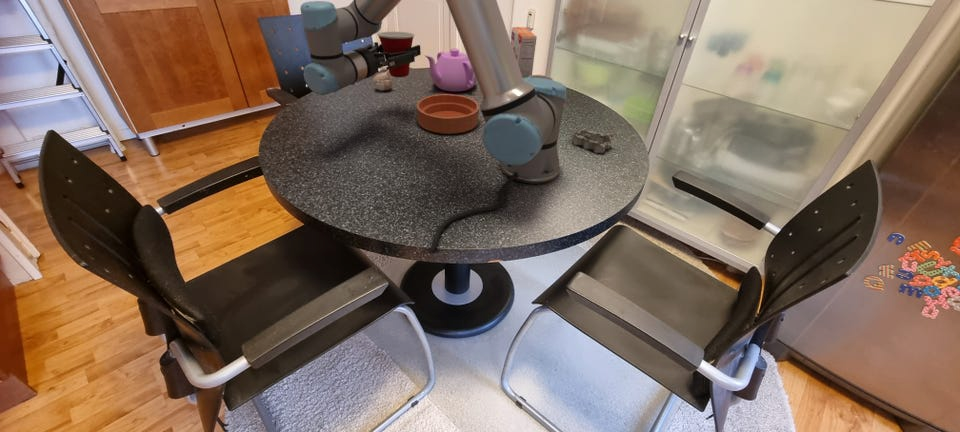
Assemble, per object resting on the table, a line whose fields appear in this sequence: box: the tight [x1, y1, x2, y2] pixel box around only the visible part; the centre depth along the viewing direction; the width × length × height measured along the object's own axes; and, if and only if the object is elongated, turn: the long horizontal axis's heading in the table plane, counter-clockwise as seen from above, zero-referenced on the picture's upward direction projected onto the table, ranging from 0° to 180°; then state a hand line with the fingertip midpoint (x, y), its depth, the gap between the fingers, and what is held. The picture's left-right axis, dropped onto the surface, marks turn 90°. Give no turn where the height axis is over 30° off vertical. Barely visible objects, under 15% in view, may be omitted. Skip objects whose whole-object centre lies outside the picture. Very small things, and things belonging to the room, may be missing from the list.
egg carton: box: [571, 128, 615, 154], centre depth 109 cm, size 11×8×4 cm
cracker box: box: [510, 26, 538, 78], centre depth 140 cm, size 14×6×21 cm, turn 10°
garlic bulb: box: [372, 68, 393, 92], centre depth 136 cm, size 7×6×8 cm
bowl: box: [416, 93, 480, 135], centre depth 117 cm, size 19×19×6 cm
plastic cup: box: [376, 31, 415, 78], centre depth 112 cm, size 11×11×12 cm
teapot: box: [424, 48, 478, 93], centre depth 140 cm, size 22×22×14 cm
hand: (406, 47), depth 115 cm, fingers closed on plastic cup, 9 cm apart
